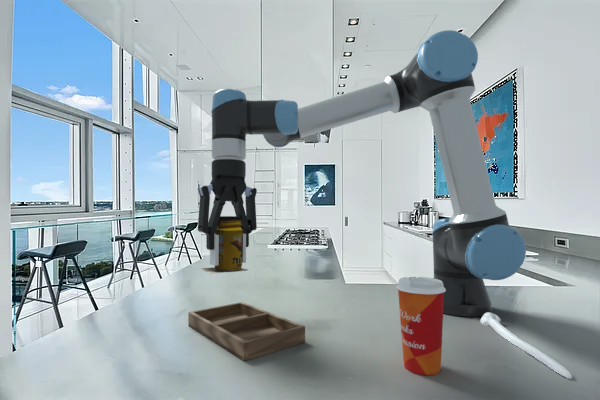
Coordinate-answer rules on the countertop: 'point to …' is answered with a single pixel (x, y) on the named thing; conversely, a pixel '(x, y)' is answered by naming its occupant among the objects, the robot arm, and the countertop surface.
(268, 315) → the caddy
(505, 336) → the white nail
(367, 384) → the countertop surface
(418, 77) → the robot arm
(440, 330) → the paper cup
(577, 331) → the countertop surface
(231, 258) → the condiment
